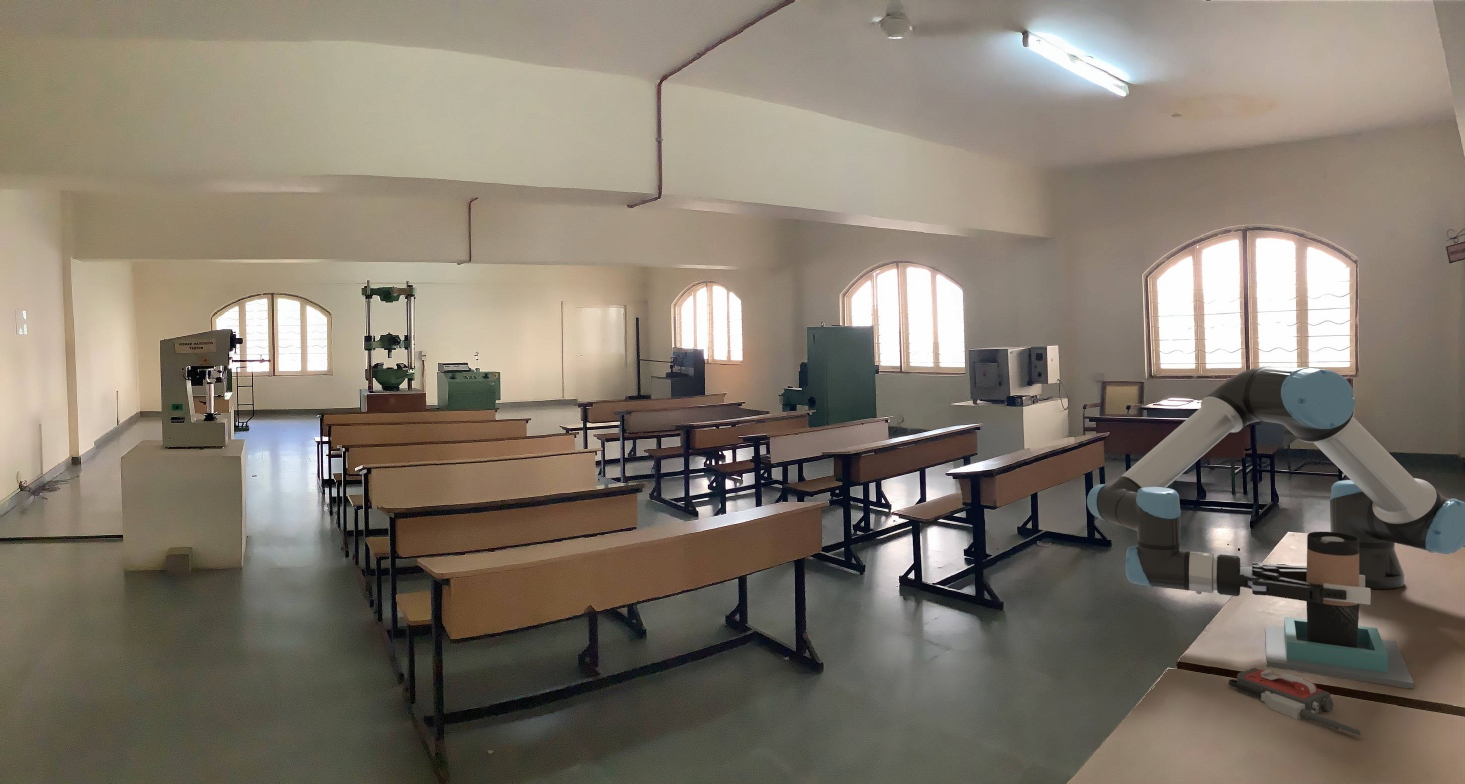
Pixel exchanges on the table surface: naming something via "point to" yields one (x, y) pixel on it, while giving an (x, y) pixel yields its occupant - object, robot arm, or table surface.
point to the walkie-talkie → (1288, 695)
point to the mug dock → (1336, 655)
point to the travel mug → (1338, 565)
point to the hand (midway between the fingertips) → (1367, 589)
